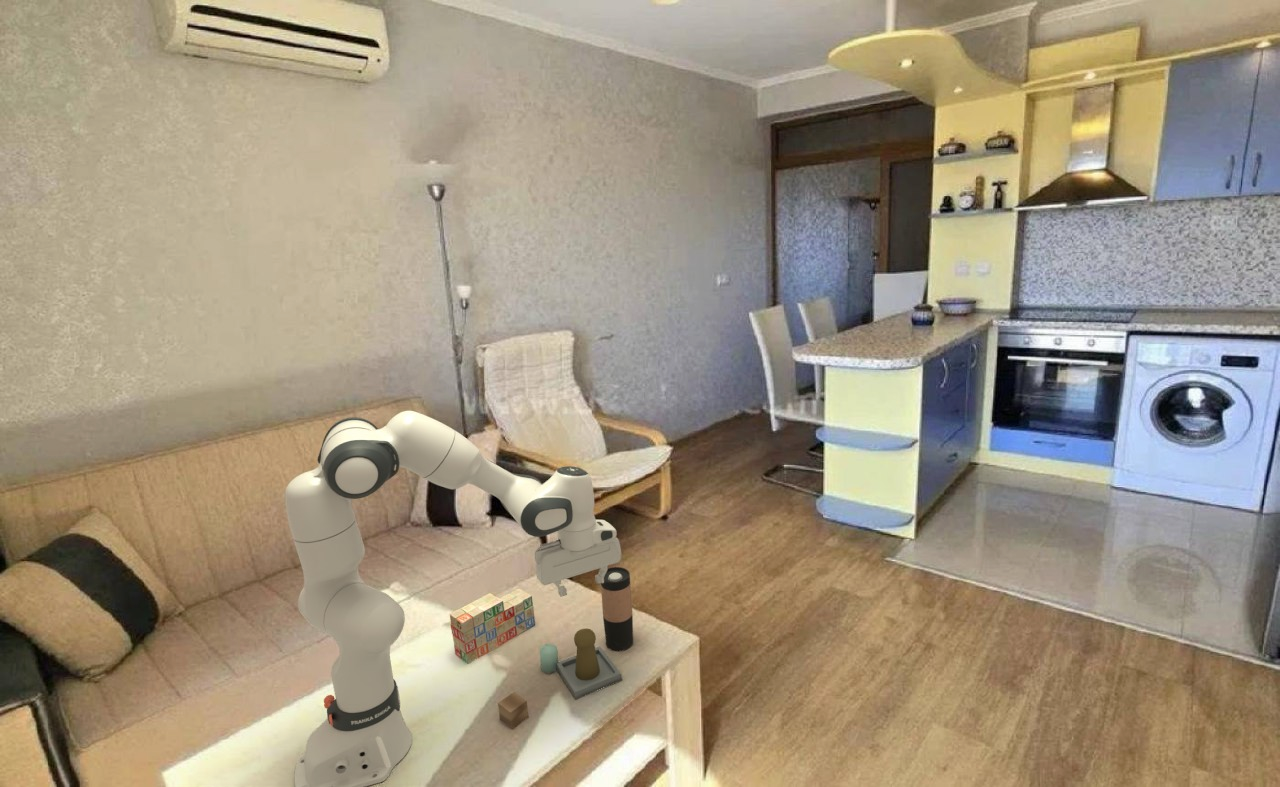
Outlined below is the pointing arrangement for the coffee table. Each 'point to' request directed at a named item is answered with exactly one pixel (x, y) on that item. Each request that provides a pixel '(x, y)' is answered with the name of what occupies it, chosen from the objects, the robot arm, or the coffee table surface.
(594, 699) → the coffee table surface
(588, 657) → the olive brown pawn
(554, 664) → the teal cylinder
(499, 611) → the stack of blocks
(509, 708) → the walnut cube
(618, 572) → the travel mug
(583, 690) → the tray
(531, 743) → the coffee table surface
